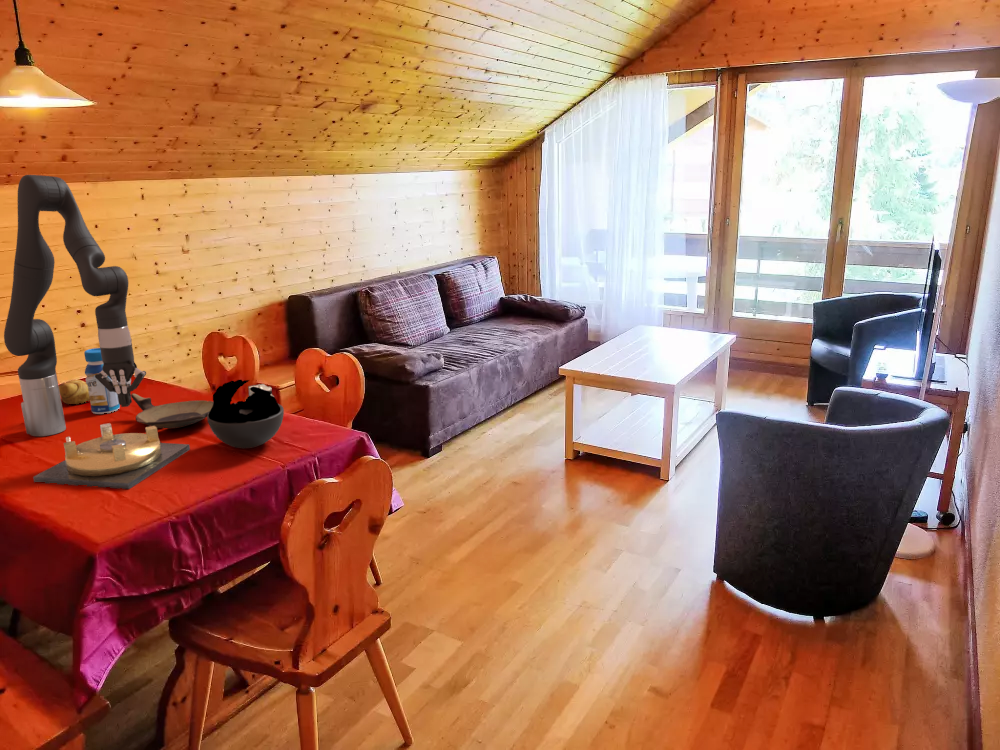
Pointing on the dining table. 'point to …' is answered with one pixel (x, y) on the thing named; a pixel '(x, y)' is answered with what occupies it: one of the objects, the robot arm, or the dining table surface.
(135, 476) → the base plate
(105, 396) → the beverage bottle
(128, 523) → the dining table surface
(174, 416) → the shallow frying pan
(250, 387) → the pneumatic valve
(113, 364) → the robot arm
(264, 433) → the bowl of black rocks
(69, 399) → the bread roll
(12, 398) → the dining table surface
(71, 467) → the round brass tray
